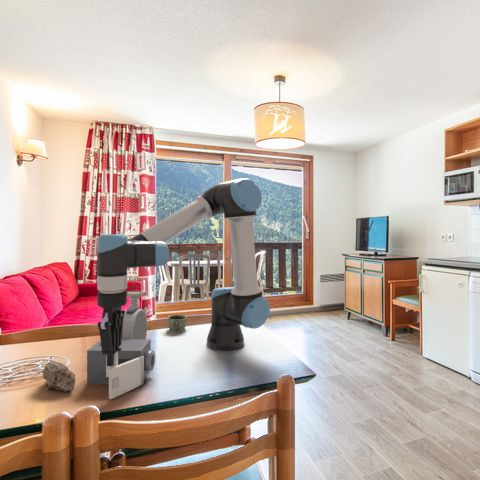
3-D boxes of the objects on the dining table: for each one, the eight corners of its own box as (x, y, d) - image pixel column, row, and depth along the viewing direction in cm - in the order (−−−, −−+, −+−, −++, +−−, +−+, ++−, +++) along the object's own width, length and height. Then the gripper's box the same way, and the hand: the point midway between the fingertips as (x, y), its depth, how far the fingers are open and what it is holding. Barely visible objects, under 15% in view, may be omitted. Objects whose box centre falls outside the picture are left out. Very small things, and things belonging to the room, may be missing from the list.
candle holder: (149, 340, 130) (150, 291, 129) (132, 346, 122) (132, 295, 122) (135, 336, 134) (136, 289, 134) (118, 341, 127) (118, 292, 127)
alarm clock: (127, 348, 120) (128, 301, 119) (153, 349, 119) (154, 302, 119) (108, 366, 103) (108, 312, 103) (138, 367, 103) (139, 313, 103)
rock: (51, 358, 95) (31, 367, 85) (89, 358, 96) (73, 367, 86) (49, 382, 94) (28, 394, 84) (87, 382, 95) (71, 393, 85)
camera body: (157, 369, 102) (157, 336, 101) (148, 384, 92) (148, 348, 91) (101, 369, 101) (101, 336, 101) (86, 384, 91) (86, 348, 91)
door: (141, 382, 92) (141, 355, 91) (145, 384, 91) (145, 357, 90) (108, 397, 83) (108, 368, 83) (112, 400, 82) (112, 370, 82)
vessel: (168, 326, 149) (168, 313, 149) (186, 326, 150) (187, 313, 150) (166, 334, 137) (166, 320, 137) (186, 334, 138) (186, 320, 138)
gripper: (108, 286, 91) (108, 365, 91) (87, 295, 78) (87, 387, 78) (133, 286, 91) (133, 365, 91) (117, 295, 78) (116, 387, 79)
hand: (112, 375), depth 85 cm, fingers closed
